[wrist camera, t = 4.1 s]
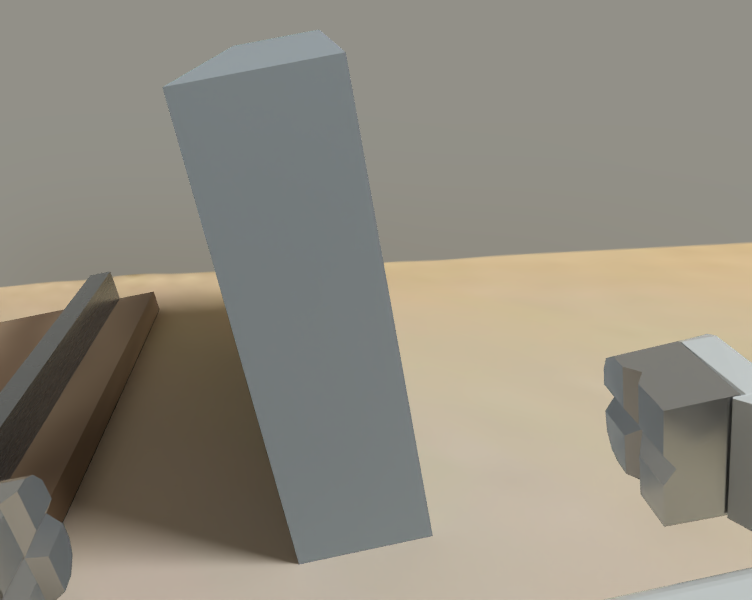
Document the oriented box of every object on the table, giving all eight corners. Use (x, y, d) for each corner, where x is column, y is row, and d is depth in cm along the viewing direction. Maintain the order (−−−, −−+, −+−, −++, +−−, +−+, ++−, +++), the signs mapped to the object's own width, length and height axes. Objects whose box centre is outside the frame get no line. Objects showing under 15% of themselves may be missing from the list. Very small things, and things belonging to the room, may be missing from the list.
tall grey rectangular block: (299, 566, 18) (162, 87, 13) (297, 314, 32) (233, 46, 28) (432, 537, 18) (345, 52, 13) (370, 299, 33) (319, 29, 28)
